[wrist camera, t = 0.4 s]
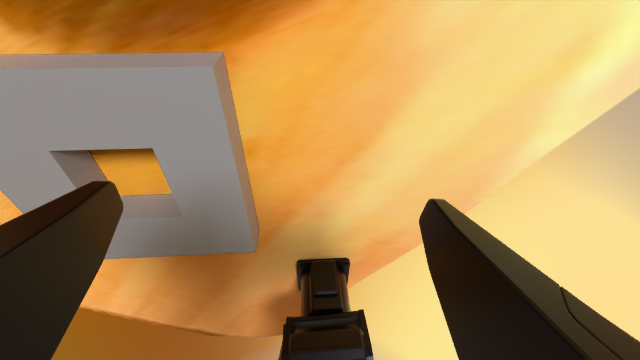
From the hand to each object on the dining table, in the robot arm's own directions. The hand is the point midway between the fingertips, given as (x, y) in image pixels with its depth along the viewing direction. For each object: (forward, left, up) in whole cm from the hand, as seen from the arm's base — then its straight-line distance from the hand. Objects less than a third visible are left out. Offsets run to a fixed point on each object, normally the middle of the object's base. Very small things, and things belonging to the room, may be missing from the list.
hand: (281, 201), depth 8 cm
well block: (-9, +14, -14) cm, 21 cm away
